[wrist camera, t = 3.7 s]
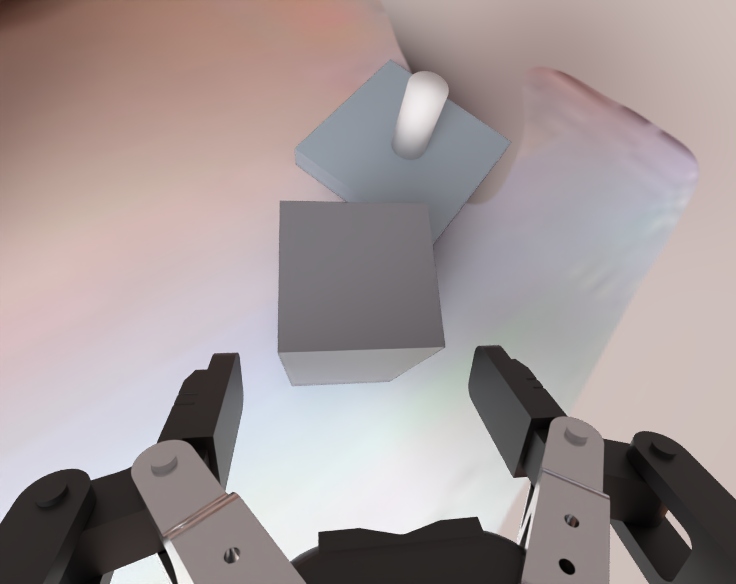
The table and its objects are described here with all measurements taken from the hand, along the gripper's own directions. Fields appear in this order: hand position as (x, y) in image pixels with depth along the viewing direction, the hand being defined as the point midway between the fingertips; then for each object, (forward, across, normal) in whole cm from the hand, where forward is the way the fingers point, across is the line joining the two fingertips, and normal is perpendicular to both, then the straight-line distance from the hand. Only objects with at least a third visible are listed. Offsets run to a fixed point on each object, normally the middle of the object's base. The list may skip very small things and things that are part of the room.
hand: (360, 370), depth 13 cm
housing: (+8, 0, +4) cm, 9 cm away
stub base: (+16, -4, -5) cm, 17 cm away
